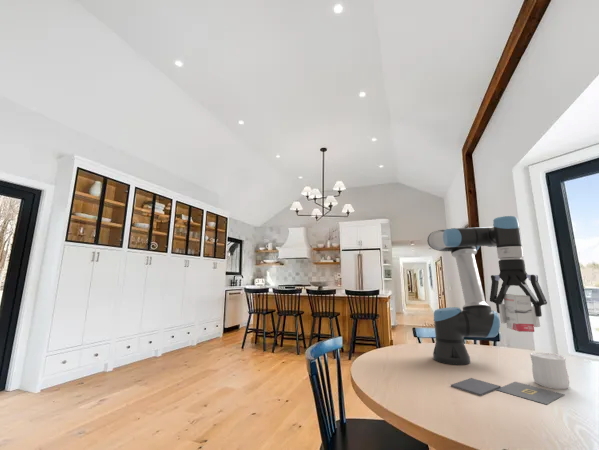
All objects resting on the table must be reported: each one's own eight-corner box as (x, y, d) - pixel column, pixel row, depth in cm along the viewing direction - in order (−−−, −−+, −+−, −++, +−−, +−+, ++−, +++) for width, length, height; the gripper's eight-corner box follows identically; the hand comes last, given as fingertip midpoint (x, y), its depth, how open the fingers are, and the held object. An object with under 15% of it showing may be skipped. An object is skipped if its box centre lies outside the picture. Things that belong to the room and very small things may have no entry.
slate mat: (495, 390, 99) (495, 389, 99) (515, 382, 106) (515, 381, 106) (546, 404, 87) (546, 403, 87) (564, 394, 94) (564, 393, 94)
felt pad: (451, 386, 102) (450, 384, 102) (471, 379, 109) (471, 377, 109) (480, 396, 94) (480, 394, 94) (500, 387, 100) (500, 386, 100)
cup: (528, 382, 106) (524, 353, 107) (544, 378, 109) (540, 351, 111) (559, 391, 97) (554, 360, 99) (576, 386, 101) (571, 357, 103)
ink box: (536, 332, 95) (530, 295, 97) (519, 332, 96) (513, 295, 98) (522, 328, 104) (517, 293, 106) (506, 327, 105) (501, 293, 107)
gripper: (473, 260, 111) (481, 321, 107) (543, 256, 93) (555, 330, 89) (484, 261, 115) (491, 320, 111) (553, 257, 97) (564, 328, 93)
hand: (519, 324), depth 100 cm, fingers closed on ink box, 9 cm apart
